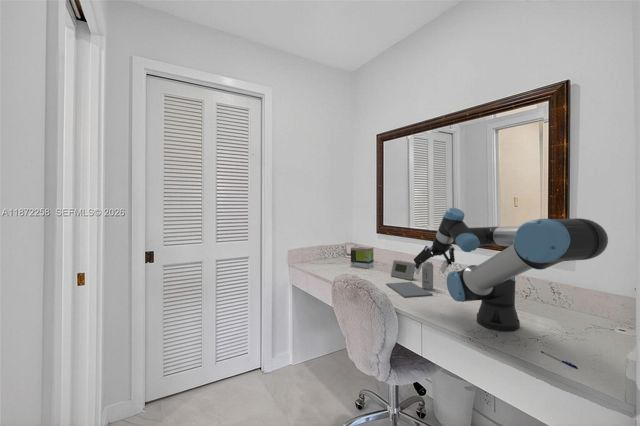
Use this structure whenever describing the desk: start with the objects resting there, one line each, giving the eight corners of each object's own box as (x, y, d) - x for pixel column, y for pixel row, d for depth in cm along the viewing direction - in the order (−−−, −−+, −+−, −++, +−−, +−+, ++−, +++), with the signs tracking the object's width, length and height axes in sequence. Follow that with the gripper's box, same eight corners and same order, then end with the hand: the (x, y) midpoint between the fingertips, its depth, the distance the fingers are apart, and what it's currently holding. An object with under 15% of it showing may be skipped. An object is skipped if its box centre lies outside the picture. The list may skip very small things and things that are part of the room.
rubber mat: (432, 295, 158) (432, 294, 158) (404, 297, 155) (404, 296, 155) (411, 283, 182) (411, 281, 182) (386, 284, 179) (386, 283, 179)
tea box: (373, 266, 230) (373, 247, 229) (368, 268, 221) (368, 248, 221) (356, 264, 238) (355, 245, 237) (350, 266, 229) (350, 247, 229)
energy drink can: (419, 288, 172) (419, 262, 171) (426, 286, 175) (426, 260, 174) (428, 290, 167) (428, 264, 166) (435, 288, 170) (435, 262, 169)
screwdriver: (578, 369, 89) (578, 366, 89) (576, 370, 89) (576, 366, 89) (542, 352, 99) (542, 349, 99) (540, 353, 99) (540, 350, 99)
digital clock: (389, 276, 200) (389, 260, 199) (399, 274, 204) (399, 258, 204) (408, 281, 186) (408, 264, 185) (418, 279, 190) (418, 262, 190)
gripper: (464, 233, 140) (448, 265, 152) (414, 234, 136) (402, 267, 148) (473, 244, 134) (456, 276, 146) (421, 245, 130) (408, 278, 142)
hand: (429, 272), depth 147 cm, fingers open, 13 cm apart
